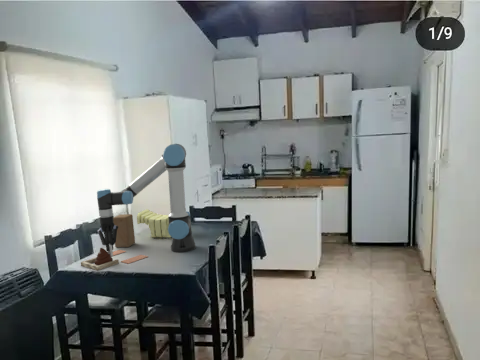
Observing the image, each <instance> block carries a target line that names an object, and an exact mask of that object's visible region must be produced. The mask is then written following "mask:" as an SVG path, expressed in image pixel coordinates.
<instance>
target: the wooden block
mask: <svg viewBox="0 0 480 360" xmlns="http://www.w3.org/2000/svg"><path fill="white" fill-rule="evenodd" d="M113 219H114V222H113V223H114V225H116V226H118V229H117V236H116V243H114V247H115V248H130V247H131V246H133V245H135V243H136V238H135V237H136V236H135V228H134V218H133V214H132V213H131V214H130V213H128V214H126V213H125V214H124V213H123V214H118V215H116V216H113Z"/></svg>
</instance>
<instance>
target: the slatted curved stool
mask: <svg viewBox="0 0 480 360" xmlns="http://www.w3.org/2000/svg"><path fill="white" fill-rule="evenodd" d="M185 209H186V207H185ZM186 210H187V209H186ZM168 215H169V214H160V213H157V212H154V211H150V209H148V208H146V209H144V210H141V211H140V212H138V213H137V215H136V220H137V221H136V223H137V225H140V224H145V225H147V226H148V228H149V231H150V235H151V238H172V237H171V236H170V235H169V232H168V226H169V220H168Z"/></svg>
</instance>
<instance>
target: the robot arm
mask: <svg viewBox="0 0 480 360" xmlns="http://www.w3.org/2000/svg"><path fill="white" fill-rule="evenodd" d="M186 156H187V150H186V148H185V147H184V146H183V145H182V144H179V143H173V144H172V143H171V144H169V145H167V146H166V147H165V148H164V151H163V154H161V157H160V159H158V160H157V161H156V162H155V163H154V164H152V165H151V166H150V167H148V169H146V170H145V171H144V172H143V173H141V174H140V175H139V176H138V177H136V178H135V179H134V180H133V181H131V183H129V184H128V185H127V186H126V187H124V188H123V189H122V190H120V191H111V189H110V188H102V189H98V190H97V192H96V195H97V196H96V198H97V205H98V214H99V224H100V225H99V229H96V233H97V234H98V236H99V239H100V242H101V244H102V245H103V246H105V250H106V252H108V253H109V254H110V255H111V257H114V256H113V252H114V251H113V250H114V246H115V243H116V236H117V229H118V226H116V225H114V223H113V222H114V219H113V217H114V211H113V206H122V205H131V204H133V202H134V198H135V197H136V196H137V195H138V194H140V193H141V192H142V191H143V190H144V189H146V188H147V187H148V186H149V185H151V184H152V183H153V182H154V181H155V180H156V179H158V178H159V177H160V176H161V175H163V174H164V173H165V172H166V171H167V175H168V191H169V194H168V195H169V205H170V209H169V210H170V213H169V214H167V215H168V220H169V226H168V232H169V235H170V236H171V237H170V238H172V240H171V245H170V250H171V251H172V252H175V253H184V252H190V251H192V250H195V249H196V247H197V245H196V242H195V240H194V237H193V232H192V221H191V213H190V211H186V210H187V209H185V208H186V197H185V179H184V178H185V177H184V171H185V169H186V166H187V165H186Z"/></svg>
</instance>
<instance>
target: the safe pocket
mask: <svg viewBox="0 0 480 360" xmlns="http://www.w3.org/2000/svg"><path fill="white" fill-rule="evenodd" d="M95 260H96V257H93V258H90V259H86V260H83V261H80V265H81V266H82V267H85V268H89V269H92V270H95V271H99V270H102V269H105V268H106V269H107V268H109V267H112V266H115V265H118V264H119V263H120V261H119V259H114V260H113V261H111V262H108V263H105V264H101V265H95ZM93 263H94V264H93Z"/></svg>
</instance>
